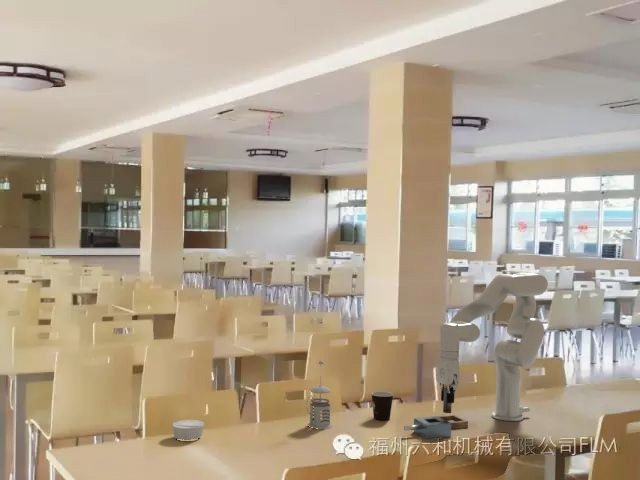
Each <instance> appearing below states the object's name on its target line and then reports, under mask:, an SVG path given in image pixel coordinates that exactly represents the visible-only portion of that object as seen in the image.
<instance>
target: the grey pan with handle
mask: <svg viewBox="0 0 640 480" xmlns="http://www.w3.org/2000/svg"><path fill="white" fill-rule="evenodd" d="M438 416H439V415H438ZM438 416H437V415H435V416H425V417H414V418H413V424H412V425H405V426H403V430H404V431H406V432H407V431H413V432H415V433H416V434H417V435H419V436H421V437H423V438H425V439H427V440H428V439H429V440H430V439H438V438H437V437H441V438H449V437H450V436H451V437H452V429H451V423H450V422H448V421H446V420H444V419H442V418H440V417H438ZM451 437H450V438H451Z"/></svg>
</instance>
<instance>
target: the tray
mask: <svg viewBox="0 0 640 480" xmlns="http://www.w3.org/2000/svg"><path fill="white" fill-rule="evenodd" d="M438 417H440V418H442V419H444V420H446V421H448V422H450V423H451V430H453V429H454V428H455V429H464V428H468V427H469V421H468V420H466V419H464V418H463V417H460V416H457V415H455V414H449V415H438Z"/></svg>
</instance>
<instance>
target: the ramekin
mask: <svg viewBox="0 0 640 480" xmlns="http://www.w3.org/2000/svg"><path fill="white" fill-rule="evenodd" d="M204 426H205V423H204V421H202V420H198V419H181V420H178V421H175V422H173V423H172V425H171V427H172V432H173V437H174V439H175V438H177V439H182V440H183V439H184V440H191V439H197V438H200V437H201V436H202V437H203V433H204V432H203V431H204ZM202 437H201V438H202ZM201 438H200V439H201Z"/></svg>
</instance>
